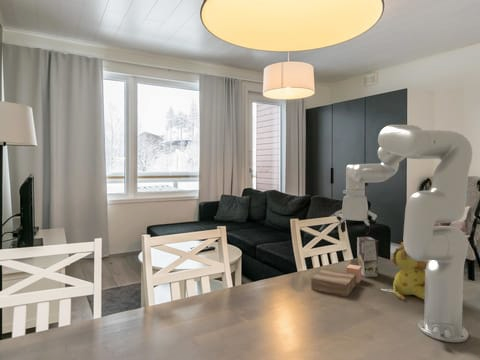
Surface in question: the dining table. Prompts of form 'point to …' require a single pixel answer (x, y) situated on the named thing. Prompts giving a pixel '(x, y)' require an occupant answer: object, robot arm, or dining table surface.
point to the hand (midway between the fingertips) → (354, 233)
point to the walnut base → (333, 282)
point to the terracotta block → (354, 271)
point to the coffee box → (367, 256)
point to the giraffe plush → (408, 275)
